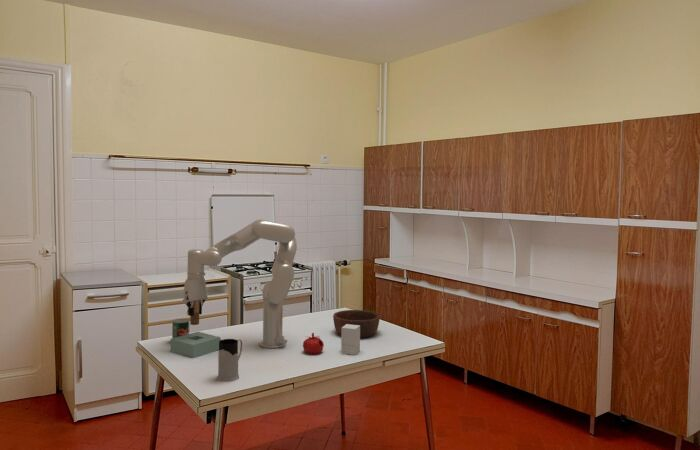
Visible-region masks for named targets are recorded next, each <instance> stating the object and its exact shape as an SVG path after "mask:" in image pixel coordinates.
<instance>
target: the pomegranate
mask: <svg viewBox="0 0 700 450" xmlns="http://www.w3.org/2000/svg"><path fill="white" fill-rule="evenodd" d="M324 345H325V344H324V341H323V340H322V339H321V337H320V336H319V335H317V336H316V335H315V333H314V332H311V336H306V338H305V339H304V340H303V343H302V348H303V351H304V352H305V353H307V354H309V355H318V354H320V353H322V351H323V350H324V347H325V346H324Z"/></svg>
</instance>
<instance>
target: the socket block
mask: <svg viewBox="0 0 700 450" xmlns="http://www.w3.org/2000/svg"><path fill="white" fill-rule="evenodd" d="M220 340H221V336H217V335H213V334H209V333H205V332H201V331H194V332H189V334H187V335H183V336H179V337H175V338H170V352H172V353H175V354H178V355H182V356H186V357H188V358H192V359H195V358H198V357H202V356H205V355H209V354H211V353H214V352H217V351H218V352H219V341H220Z"/></svg>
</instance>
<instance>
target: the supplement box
mask: <svg viewBox="0 0 700 450" xmlns="http://www.w3.org/2000/svg"><path fill="white" fill-rule="evenodd" d="M340 337H341V341H340V342H341V343H340V344H341V345H340V346H341V347H340V349H341V350H340V351H341V353H340V354H343V355H351V356H356V355H357V354H358V353H360V351H361V338H360V325H350V324H346V325H344V326H343V327H342V328H341V336H340Z"/></svg>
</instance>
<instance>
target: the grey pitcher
mask: <svg viewBox="0 0 700 450" xmlns="http://www.w3.org/2000/svg"><path fill="white" fill-rule="evenodd" d="M239 342H240V348H239ZM242 350H243V341H242V339H234V338H224V339H220V341H219V350H218V352H217V353H218V355H217V358H218V359H217V360H218V369H217V370H218V371H217V372H218V373H217V377H216V378H217V380H218V381H219V382H226V383H227V382H233V381H236V380H239V379H240V375H239V360H240V358H241V355H242V352H243V351H242Z"/></svg>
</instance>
